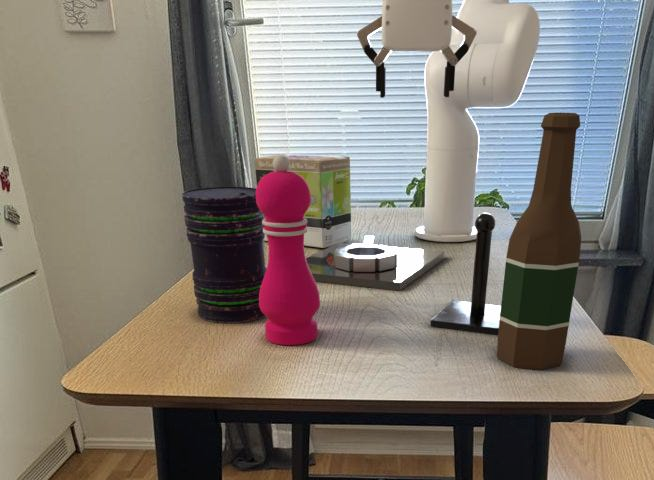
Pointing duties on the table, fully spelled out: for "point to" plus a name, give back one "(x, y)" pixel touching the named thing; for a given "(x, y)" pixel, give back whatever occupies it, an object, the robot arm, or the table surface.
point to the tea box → (320, 195)
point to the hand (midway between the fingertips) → (414, 97)
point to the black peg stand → (474, 290)
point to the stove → (397, 278)
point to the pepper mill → (286, 258)
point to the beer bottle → (543, 257)
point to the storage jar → (226, 252)
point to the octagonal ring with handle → (365, 257)
